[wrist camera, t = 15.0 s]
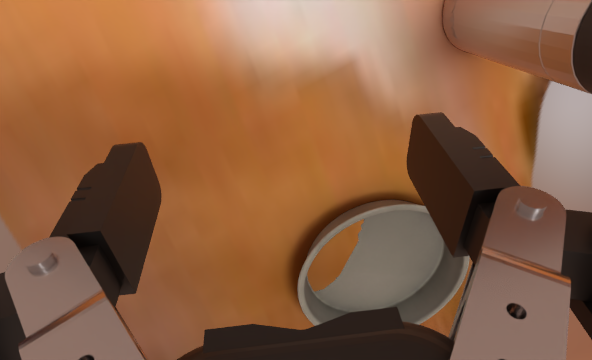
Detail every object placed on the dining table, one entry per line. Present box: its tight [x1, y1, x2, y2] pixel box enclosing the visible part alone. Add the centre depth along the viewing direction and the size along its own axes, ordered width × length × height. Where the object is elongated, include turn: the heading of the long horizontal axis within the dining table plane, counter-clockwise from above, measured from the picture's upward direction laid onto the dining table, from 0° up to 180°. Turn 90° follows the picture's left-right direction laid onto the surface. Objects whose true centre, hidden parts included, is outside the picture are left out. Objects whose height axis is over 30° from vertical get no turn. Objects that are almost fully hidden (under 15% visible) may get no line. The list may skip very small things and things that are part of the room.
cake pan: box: [298, 200, 470, 326], centre depth 53 cm, size 25×25×4 cm
